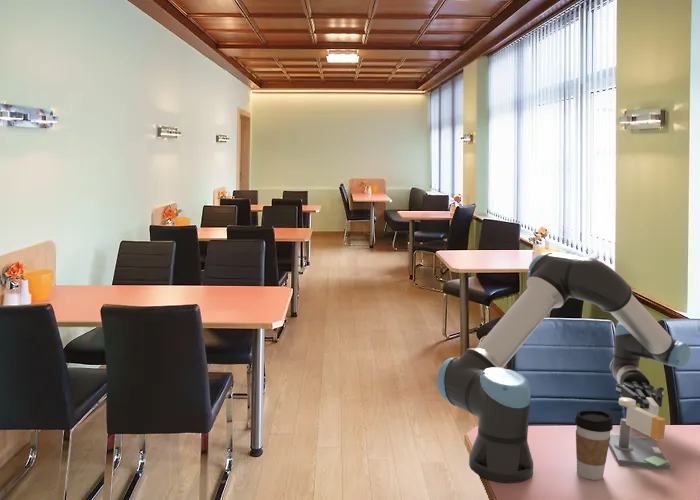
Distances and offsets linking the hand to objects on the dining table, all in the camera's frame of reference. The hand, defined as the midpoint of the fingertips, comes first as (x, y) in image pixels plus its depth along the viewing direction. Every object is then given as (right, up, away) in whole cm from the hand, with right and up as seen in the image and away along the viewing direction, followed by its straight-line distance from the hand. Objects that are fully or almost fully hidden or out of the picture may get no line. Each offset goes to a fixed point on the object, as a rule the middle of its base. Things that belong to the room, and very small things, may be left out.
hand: (655, 411), depth 160 cm
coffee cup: (-22, -12, -12) cm, 28 cm away
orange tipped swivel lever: (-6, -10, -4) cm, 12 cm away
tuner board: (-5, -11, 0) cm, 12 cm away
